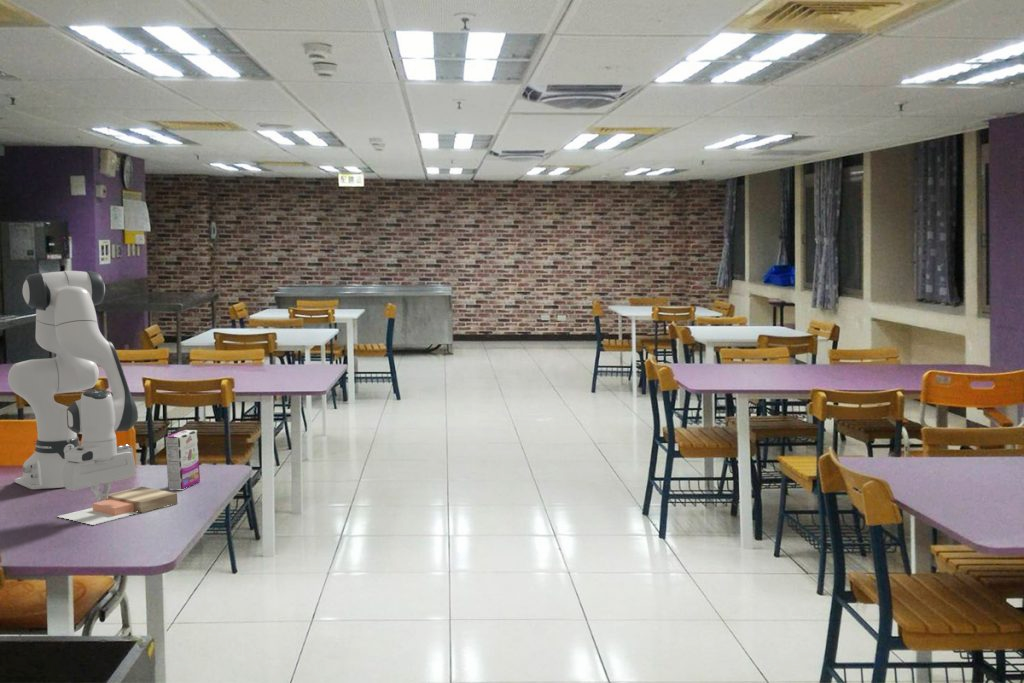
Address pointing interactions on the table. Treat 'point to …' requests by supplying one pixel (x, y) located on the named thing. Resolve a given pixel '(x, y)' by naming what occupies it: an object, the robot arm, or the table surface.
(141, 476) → the table surface
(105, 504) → the salmon pink rectangular block
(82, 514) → the mat
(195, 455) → the candy bar box
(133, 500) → the plate
